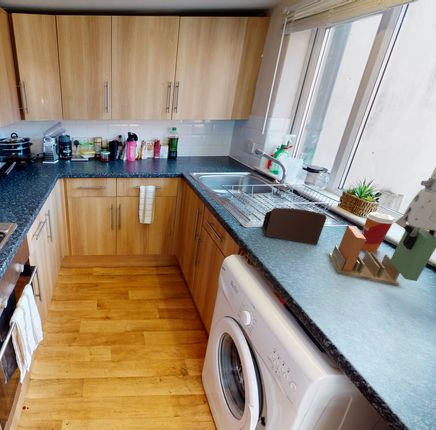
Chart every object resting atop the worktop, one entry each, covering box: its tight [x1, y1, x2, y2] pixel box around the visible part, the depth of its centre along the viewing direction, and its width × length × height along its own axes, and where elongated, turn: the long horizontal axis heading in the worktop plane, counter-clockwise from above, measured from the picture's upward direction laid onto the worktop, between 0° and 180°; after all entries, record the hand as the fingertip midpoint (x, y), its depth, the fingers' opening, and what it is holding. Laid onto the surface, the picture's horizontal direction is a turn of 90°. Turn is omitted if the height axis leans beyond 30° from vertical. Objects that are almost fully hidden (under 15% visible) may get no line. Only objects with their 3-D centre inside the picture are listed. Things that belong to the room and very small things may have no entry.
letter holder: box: [261, 207, 327, 246], centre depth 122 cm, size 10×20×14 cm, turn 71°
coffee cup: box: [361, 211, 395, 254], centre depth 112 cm, size 8×8×15 cm
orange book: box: [338, 224, 366, 271], centre depth 101 cm, size 3×10×13 cm, turn 157°
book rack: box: [328, 245, 401, 287], centre depth 101 cm, size 17×13×5 cm
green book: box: [390, 223, 436, 282], centre depth 82 cm, size 3×10×13 cm, turn 157°
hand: (414, 248), depth 81 cm, fingers closed on green book, 2 cm apart
